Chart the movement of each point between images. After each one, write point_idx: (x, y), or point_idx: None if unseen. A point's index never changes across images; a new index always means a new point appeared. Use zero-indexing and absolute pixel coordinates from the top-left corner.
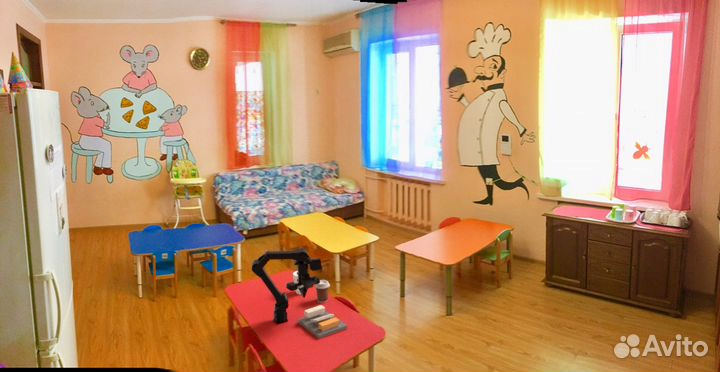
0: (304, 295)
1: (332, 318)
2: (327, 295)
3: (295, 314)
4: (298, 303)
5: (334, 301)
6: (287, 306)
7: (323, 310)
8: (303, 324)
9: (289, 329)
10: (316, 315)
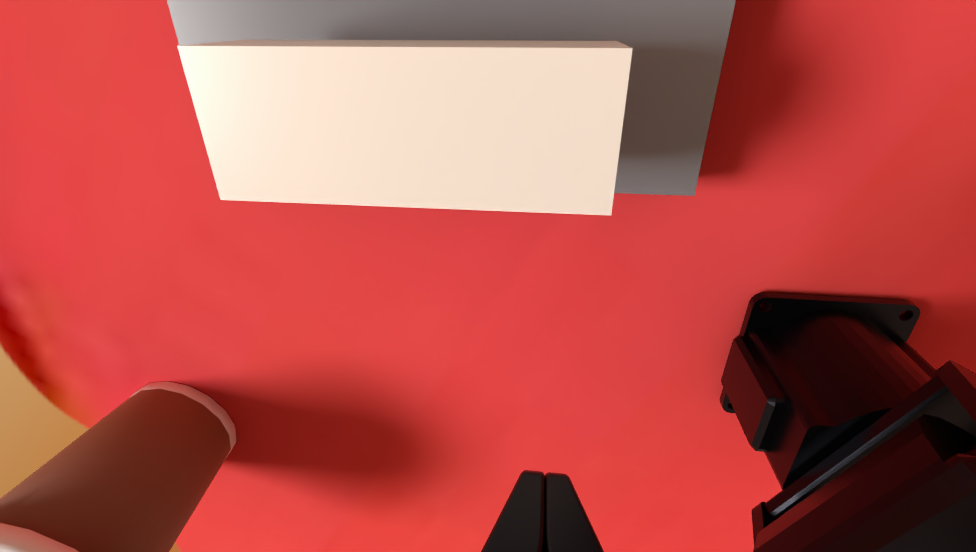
0: (542, 537)
1: None
2: (86, 432)
3: (570, 367)
4: (419, 501)
5: (72, 341)
6: (944, 452)
7: (247, 42)
8: (726, 10)
9: (935, 77)
10: None
